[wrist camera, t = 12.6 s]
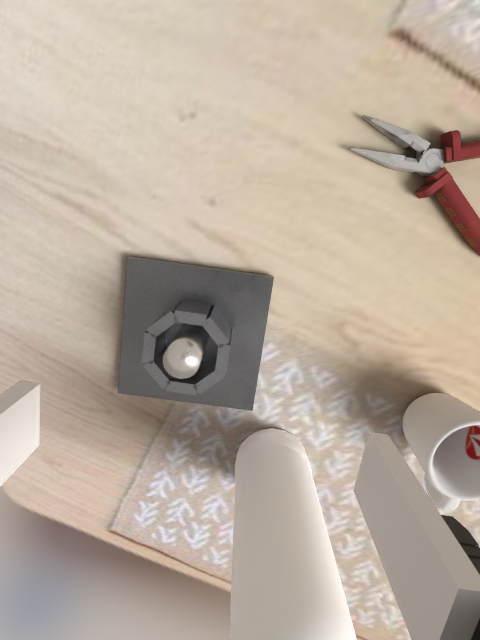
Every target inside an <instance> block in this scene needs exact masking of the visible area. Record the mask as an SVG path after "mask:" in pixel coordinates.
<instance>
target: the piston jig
mask: <svg viewBox="0 0 480 640" xmlns="http://www.w3.org/2000/svg"><path fill="white" fill-rule="evenodd" d="M273 279H274V277H273V276H268V275H261V274H254V273H247V272H240V271H233V270H226V269H219V268H211V267H204V266H197V265H190V264H183V263H176V262H169V261H162V260H155V259H147V258H140V257H133V256H129V257H127V269H126V284H125V298H124V313H123V328H122V343H121V357H120V372H119V387H118V393H124V394H131V395H139V396H146V397H154V398H161V399H169V400H176V401H184V402H191V403H199V404H206V405H214V406H221V407H229V408H236V409H244V410H251V411H252V410H253V404H254V398H255V391H256V385H257V379H258V373H259V366H260V360H261V354H262V348H263V341H264V335H265V329H266V323H267V317H268V310H269V304H270V298H271V292H272V285H273ZM183 300H191V301H198V302H204V303H211V304H212V306H211V308H212V307H213V306H216V308H217V309H218V310H219V312H220V313H221V314H222V315H223V317H224V318H225V319H226V321H227V322H228V323H229V325H230V326H231V330H232V337H231V345H230V351H229V358H228V365H227V371H226V375H225V374H224V378H223V379H222V380H220V381H219V382H217V383H216V384H214V385H213V386H211V387H210V388H209V389H207V390H206V391H204V392H203V393H201V394H199V393H198V392H197V394H196V395H190V394H183V393H176V392H169V391H166V387H165V388H164V389H162V388H161V387H160V386H159V384H158V383H157V382H156V381H155V380H154V379H153V377H152V376H151V375H150V374H149V373H148V371H147V370H146V369H145V368H144V367H143V365H144V364H145V363H142V355H143V344H144V334H145V332H146V331H147V330H146V329H147V328H148V327H149V326H150V325H151V324H152V323H153V322H154V321H155V320H156V319H157V318H158V317H159V316H160V315H162V314H163V313H164V312H166V311H167V310H169V309H170V308H171V307H173V306H174V305H175V304H177V303H178V302H179V301H183ZM165 345H166V346H167V347H168V349H167V350H166V352H165V354H164V356H163V365H164V368H165V370H166V371H167V372H168V373H169V374H170V375H171V376H173V377H175V378H179V379H185V378H189V377H191V376H193V375H194V374H195V373H196V372H197V370H198V368H199V365H202V364H203V363H204V362H206V361H207V360H209V359H210V358H212V357H213V356H214V355H216V354H217V353H218V345H217V344H216V343H215V341H214V340H213V339H212V337H211V336H210V335H209V334H208V332H207V331H206V330H205V328H204V327H203V326H199V325H192V324H186V323H179V322H176V323H174V324H173V325H172V326H170V327H169V328H168V329H167V333H166V342H165Z"/></svg>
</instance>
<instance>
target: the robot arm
mask: <svg viewBox="0 0 480 640" xmlns="http://www.w3.org/2000/svg"><path fill="white" fill-rule="evenodd" d="M39 433H40V384H39V383H33V382H26V381H20V382H18V383H17V384H15V385H14V386H13V387H11V388H10V389H8V390H7V391H5V392H4V393H2V394H1V395H0V486H1V485H2V484H3V483H4V482H5V481H6V480H7V479H8V478H9V477H10V476H11V474H12V473H13V472H14V471H15V470H16V469H17V468H18V467H19V466H20V465H21V464H22V463H23V462H24V461H25V460H26V459H27V457H28V456H29V455H30V454H31V453H32V452H33V451H34V450H35V449H36V448H37V447H38V446H39ZM354 492H355V495H356V498H357V500H358V503H359V505H360V508H361V510H362V513H363V515H364V518H365V521H366V523H367V526H368V528H369V531H370V533H371V536H372V539H373V541H374V544H375V546H376V549H377V551H378V554H379V557H380V559H381V562H382V564H383V567H384V569H385V572H386V575H387V577H388V580H389V582H390V585H391V587H392V590H393V592H394V595H395V598H396V600H397V603H398V605H399V608H400V610H401V613H402V616H403V618H404V621H405V623H406V626H407V628H408V631H409V634H410V636H411V639H412V640H480V548H479V545H478V544H477V542H476V541H475V540H474V538H473V537H472V535H471V534H470V532H469V531H468V530H467V529H466V528H465V527H464V526H463V525H461V524H460V523H459V522H458V521H457V520H456V519H455V518H453V517H451V516H444V515H440V513H439V512H438V510H437V509H436V507H435V506H434V504H433V503H432V501H431V499H430V498H429V496H428V495H427V493H426V492H425V490H424V489H423V487H422V486H421V484H420V483H419V481H418V480H417V478H416V477H415V475H414V473H413V472H412V470H411V469H410V467H409V466H408V464H407V463H406V461H405V460H404V458H403V457H402V455H401V454H400V452H399V451H398V449H397V447H396V446H395V444H394V443H393V441H392V440H391V438H390V437H389V435H388V434H381V433H374V432H369V434H368V438H367V442H366V445H365V449H364V453H363V457H362V461H361V464H360V468H359V472H358V476H357V479H356V483H355V487H354Z"/></svg>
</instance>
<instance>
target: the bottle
mask: <svg viewBox="0 0 480 640" xmlns="http://www.w3.org/2000/svg"><path fill="white" fill-rule="evenodd" d="M230 613H231V614H230V637H229V640H357V639H356V635H355V631H354V628H353V624H352V620H351V617H350V613H349V609H348V606H347V602H346V598H345V595H344V591H343V587H342V584H341V580H340V576H339V573H338V569H337V565H336V562H335V558H334V554H333V550H332V547H331V543H330V539H329V536H328V532H327V528H326V525H325V521H324V517H323V514H322V510H321V506H320V503H319V499H318V495H317V492H316V488H315V484H314V481H313V477H312V470H311V466H310V463H309V460H308V457H307V455H306V452H305V450H304V447H303V444H302V443H301V442H300V441H299V440H298V439H297V438H296V437H295V436H294V435H292V434H290V433H288V432H287V431H285V430H280V429H273V428H270V429H264V430H259V431H257V432H255V433H253V434H251V435H249V436H248V437H247V438H246V439H245V440H244V441H243V442H242V443H241V445H240V447H239V450H238V452H237V455H236V462H235V505H234V532H233V558H232V584H231V611H230Z"/></svg>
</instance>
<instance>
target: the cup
mask: <svg viewBox="0 0 480 640" xmlns="http://www.w3.org/2000/svg"><path fill="white" fill-rule="evenodd" d="M402 425H403V432H404V435H405V437H406V440H407V442H408V443H409V445H410V447H411V449H412V451H413V452H414V454H415V456H416V458H417V460H418V461H419V463H420V465H421V467H422V469H423V470H424V472H425V476H424V481H425V486H426V490H427V492H428V495H429V497H430V499H431V500H432V502H433V503H434V504H435V505H436V506H437V507H438V508H440V509H442V510H453V509H455V508H456V507H457V506H458V504H459V502H460V500H464V501H470V500H478V499H480V412H479V411H478V410H476V409H474V408H473V407H471V406H469V405H467V404H466V403H464V402H462V401H461V400H459V399H457V398H455V397H453V396H450V395H447V394H443V393H430V394H426V395H423V396H421V397H419V398H417V399H416V400H414V401H413V402H412V403H411V404H410V405H409V406H408V408H407V409H406V411H405V413H404V416H403V423H402Z"/></svg>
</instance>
